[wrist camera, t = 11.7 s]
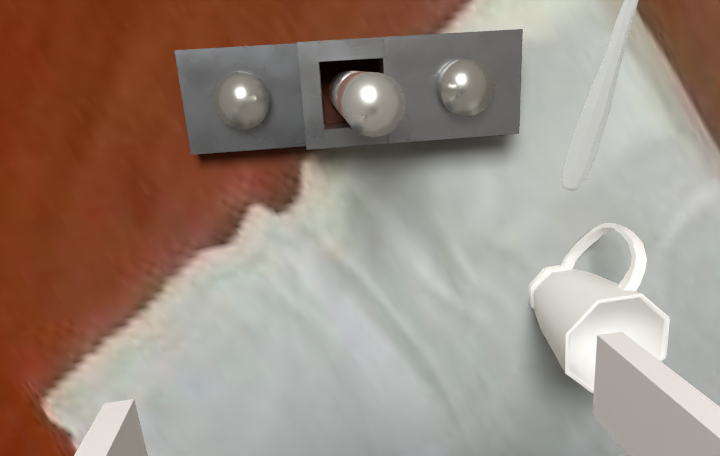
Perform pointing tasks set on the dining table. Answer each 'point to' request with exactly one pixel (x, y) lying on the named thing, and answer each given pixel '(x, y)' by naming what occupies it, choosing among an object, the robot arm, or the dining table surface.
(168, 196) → the dining table surface
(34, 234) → the dining table surface
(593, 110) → the butter knife
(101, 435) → the robot arm
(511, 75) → the grey bolted bracket
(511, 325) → the dining table surface
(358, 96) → the metal pin
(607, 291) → the cup
